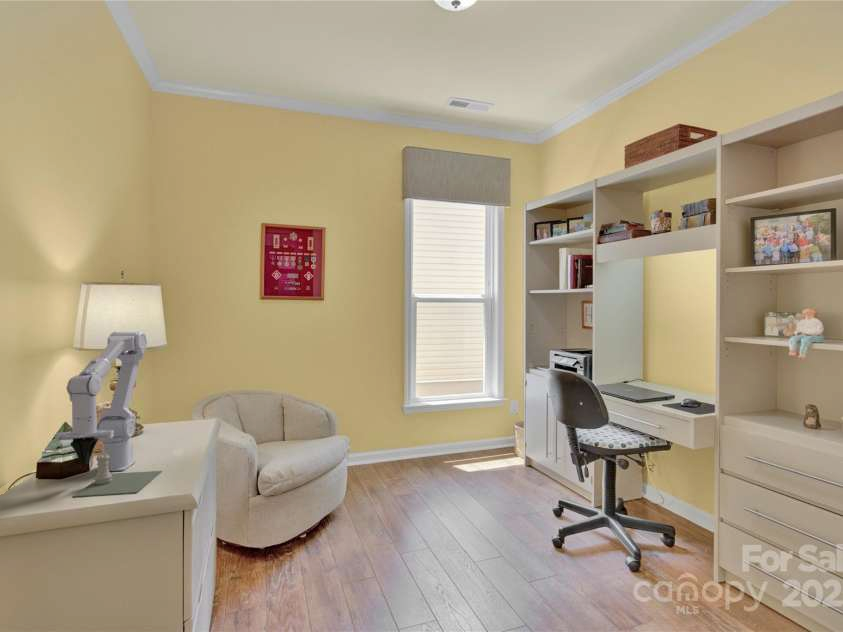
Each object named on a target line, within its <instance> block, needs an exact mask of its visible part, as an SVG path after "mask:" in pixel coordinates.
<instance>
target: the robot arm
mask: <svg viewBox="0 0 843 632" xmlns="http://www.w3.org/2000/svg"><path fill="white" fill-rule="evenodd" d="M106 344H107V345H106V347H105V348H104V350H103V351H102V352H101V354H100V355H99V357H96V358H92V359H91V360H90V362H88V364H87V365H86V366H85V367H84V368H83V369H82V370H81V372H79V374H78V375H74V376H72V377H71V378H69V380H68V382H67V386H66V392H67V394H68V395H69V401H70V402H71V407H72V408H71V415H72V416H71V421H72V422H71V425H72V426H71V427H72V431H66V432H65V431H64V432H57V433H55V434H54V442H59V441H68V440H69V441H72V442H70V447H72V449H73V450H74V452H75V453H76V455H77V458H78V460H79V464H80V466H87V465H88V464H90V461H91V457H92V454H93V451H94V450H95V447H96V444H97V443H98V442H101V454H102V455H103V454H108V456H109V457H110V458H109V459H108V462H109V463H108V470H109V472H117V471H125V470H126V469H128V468H129V467H130V466H132V465H133V464H135V463H136V462H137V459H134V442H133V440H132V437H133V435H134V434H135V432H136V426H137V425H136V420H137V417H136V415H135V413H133V412H132V411H131V410H129V409H130V405H131V400H132V397H133V392H134V388H135V384H136V380H137V376H138V372H139V367H140V364H141V360H143V358H144V357H145V354H146V349H147V346H148V340H147V335H146V334H145V333H144V332H143V331H127V332H125V331H123V332H122V331H120V332H119V331H113V332H111V333H110V334H109V336H108V337H107V343H106ZM116 359H117V360H120V362H121V365H120V369H119V372H118V377H117V380H116V384H115V389H114V392H113V397H112V400H111V404H110V408H108V409H107V410H105V411H103V412H102V413H101V414H100V416H99V419H98V418H97V412H98V411H97V395H98V393H100V391H101V389H102V385H103V382H104V381H103V380H104V378H105V377H106V376H107V375H108V374H109V373H110V371H111V369H112V366H111V364H112V363H113V362H114V361H115V360H116ZM97 419H98V421H97ZM97 470H98V469H96V470H95V471H96V473H97Z"/></svg>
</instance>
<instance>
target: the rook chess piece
mask: <svg viewBox="0 0 843 632" xmlns="http://www.w3.org/2000/svg"><path fill="white" fill-rule="evenodd" d="M109 458H110V457H109V456H108V454H103V455H102V453H101V454H97V457H96V459H95V460H96V461H97V464H96V465H97V469H96V470H97V472H96V474H95V476H94V478H93V480H94V481H93V482H94V484H96V485H102V484H107V483H109V482H111V481H112V479H111V477H112V475H111V474H112V473H111V471H109V470H108V463H109V462H108V459H109Z"/></svg>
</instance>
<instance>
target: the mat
mask: <svg viewBox="0 0 843 632" xmlns="http://www.w3.org/2000/svg"><path fill="white" fill-rule="evenodd" d="M162 472H163V471H162V470H153V471H152V470H151V471H136V472H135V471H134V472H133V471H131V472H122V473H121V472H115V473H110V474H111V475H112V477H111V479H112V481H111V482H109V483H107V484H102V485H96V484H94V481H93V482H91V483H90V484H88V485H87V486H86V487H84V488H82V489H81V490H80V491H77V493H74V494H73V495H72V496H71V497H72V498H83V497H84V498H85V497H97V496H98V497H99V496H113V495H114V496H115V495H129V494H131V495H132V494H138V493H139V492H140V491H142V489H144V488H145V487H146V486H147V485H149V484H150V482H151V483H152V481H153V480H154V479H156V477H157V476H159V475H160V474H161V473H162Z"/></svg>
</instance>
